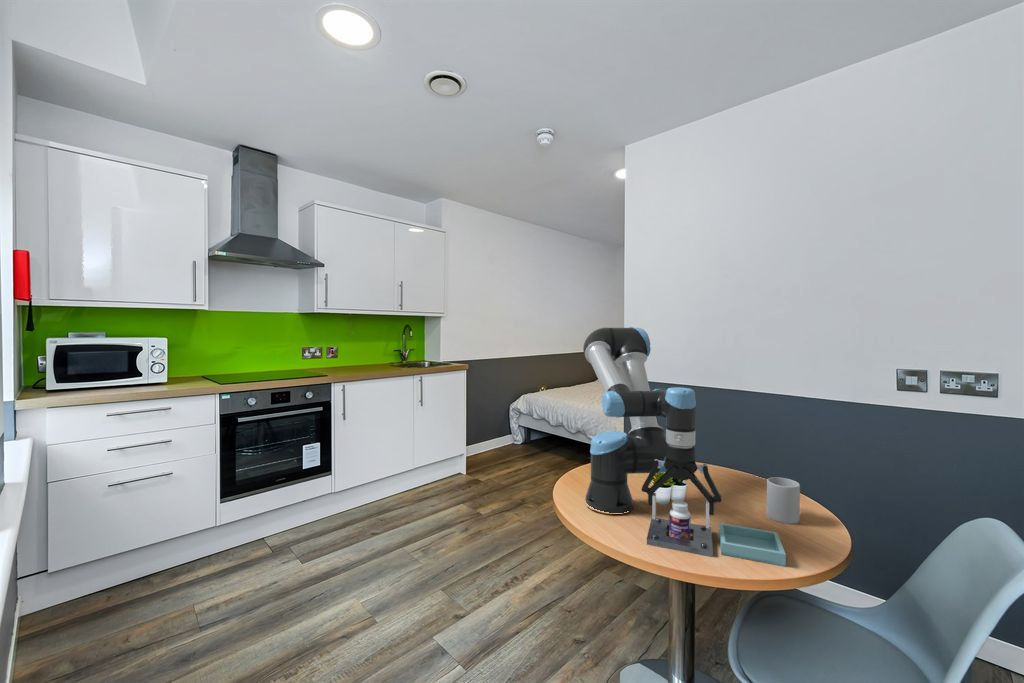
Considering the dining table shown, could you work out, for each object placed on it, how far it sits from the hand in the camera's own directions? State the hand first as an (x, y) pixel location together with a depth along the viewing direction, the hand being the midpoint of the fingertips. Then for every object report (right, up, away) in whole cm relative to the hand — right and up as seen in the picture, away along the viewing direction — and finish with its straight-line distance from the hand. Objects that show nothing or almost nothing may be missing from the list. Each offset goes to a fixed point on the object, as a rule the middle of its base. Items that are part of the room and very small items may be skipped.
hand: (680, 521), depth 116 cm
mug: (+36, -4, +14) cm, 39 cm away
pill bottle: (0, -5, 0) cm, 5 cm away
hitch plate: (0, -5, 0) cm, 5 cm away
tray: (+16, -5, -5) cm, 18 cm away
